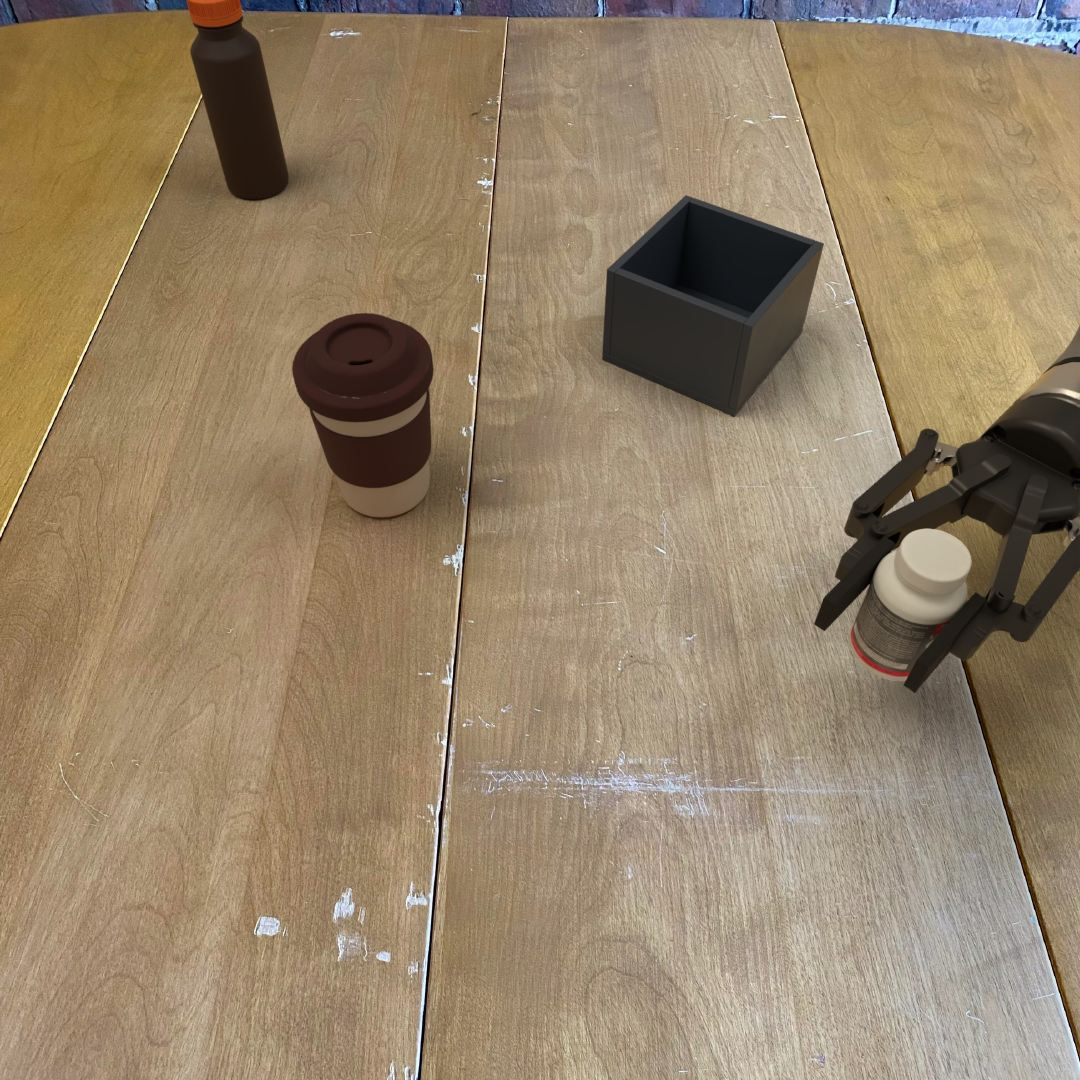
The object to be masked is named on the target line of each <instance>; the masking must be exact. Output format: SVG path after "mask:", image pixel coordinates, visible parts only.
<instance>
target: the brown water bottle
mask: <svg viewBox="0 0 1080 1080" xmlns="http://www.w3.org/2000/svg"><path fill="white" fill-rule="evenodd" d="M186 5H187V7H188V12H189V17H190V20H191V21H192V25H193V26H194V28H195V29H197V34H196V36H195V38H194V39H193V41H192V44H191V45H190V51H189V52H190V57H191V61H192V65H193V68H194V71H195V75H196V78H197V83H198V86H199V90H200V93H201V97H202V100H203V104H204V109H205V112H206V115H207V118H208V123H209V126H210V130H211V134H212V136H213V141H214V143H215V144H214V145H215V147H216V151H217V154H218V158H219V161H220V165H221V169H222V172H223V177H224V180H225V183H226V186H227V189H228V191H229V192H230V193H231V194H232V195H234V196H236V197H239V198H242V199H246V200H262V199H266V198H270V197H272V196H275V195H277V194H279V193H280V192H282V191H283V190H284V189H286V187H287V185H288V184H289V179H290V178H289V177H290V175H289V170H288V165H287V160H286V158H285V152H284V148H283V143H282V138H281V133H280V130H279V125H278V120H277V116H276V111H275V107H274V103H273V102H274V101H273V98H272V93H271V88H270V84H269V80H268V79H269V78H268V76H267V71H266V67H265V61H264V57H263V52H262V48H261V44H260V42H259V40H258V39H257V37H256V36H255V35H254V34H252V32H250V31H249V30H248V29H246V28H244V26H243V22H244V15H243V14H244V13H243V7H242V4H241V0H186Z"/></svg>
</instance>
